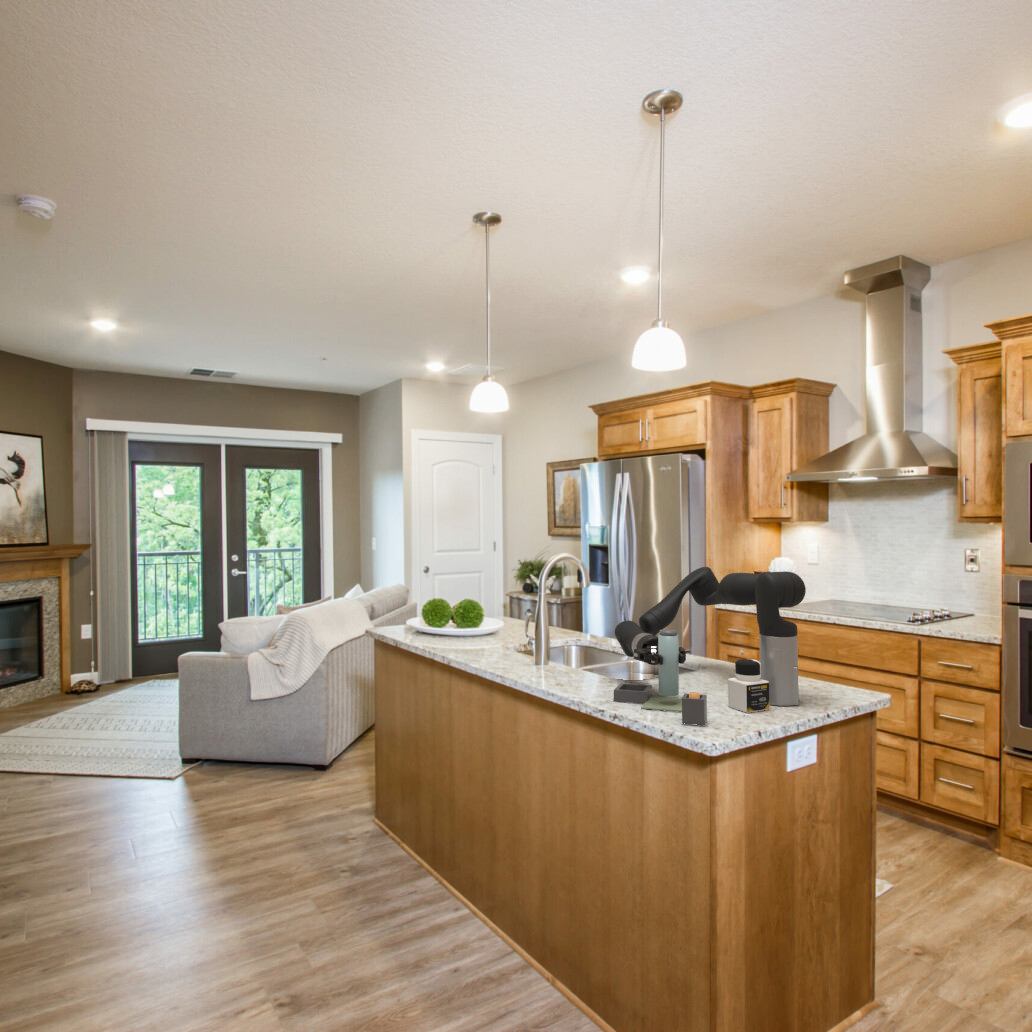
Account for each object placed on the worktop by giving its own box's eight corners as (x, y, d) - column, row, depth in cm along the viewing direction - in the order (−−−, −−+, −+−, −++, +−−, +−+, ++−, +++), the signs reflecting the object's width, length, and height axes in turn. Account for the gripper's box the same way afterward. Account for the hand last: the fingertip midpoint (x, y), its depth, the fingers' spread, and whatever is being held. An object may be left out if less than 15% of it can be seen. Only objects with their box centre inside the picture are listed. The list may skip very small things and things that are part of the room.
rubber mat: (696, 701, 188) (696, 699, 188) (690, 713, 177) (690, 711, 177) (649, 698, 193) (649, 696, 193) (641, 709, 181) (641, 707, 181)
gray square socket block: (707, 720, 170) (706, 694, 171) (704, 726, 166) (704, 699, 166) (685, 718, 172) (684, 693, 172) (682, 724, 168) (681, 698, 168)
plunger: (700, 716, 170) (700, 692, 170) (699, 719, 167) (698, 694, 168) (690, 715, 171) (689, 691, 171) (688, 718, 168) (688, 694, 168)
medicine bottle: (747, 713, 176) (746, 663, 176) (727, 706, 183) (726, 658, 183) (770, 710, 179) (769, 661, 179) (750, 703, 186) (749, 656, 186)
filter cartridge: (679, 691, 187) (679, 629, 187) (678, 696, 182) (677, 632, 182) (659, 690, 188) (659, 628, 188) (657, 695, 184) (657, 631, 183)
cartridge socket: (652, 696, 195) (652, 685, 195) (646, 704, 187) (646, 692, 187) (621, 694, 198) (620, 683, 198) (613, 701, 190) (613, 689, 190)
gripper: (674, 660, 200) (699, 673, 184) (623, 663, 198) (644, 676, 181) (673, 633, 200) (699, 644, 184) (623, 635, 198) (644, 646, 181)
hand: (671, 660), depth 183 cm, fingers closed on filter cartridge, 5 cm apart
